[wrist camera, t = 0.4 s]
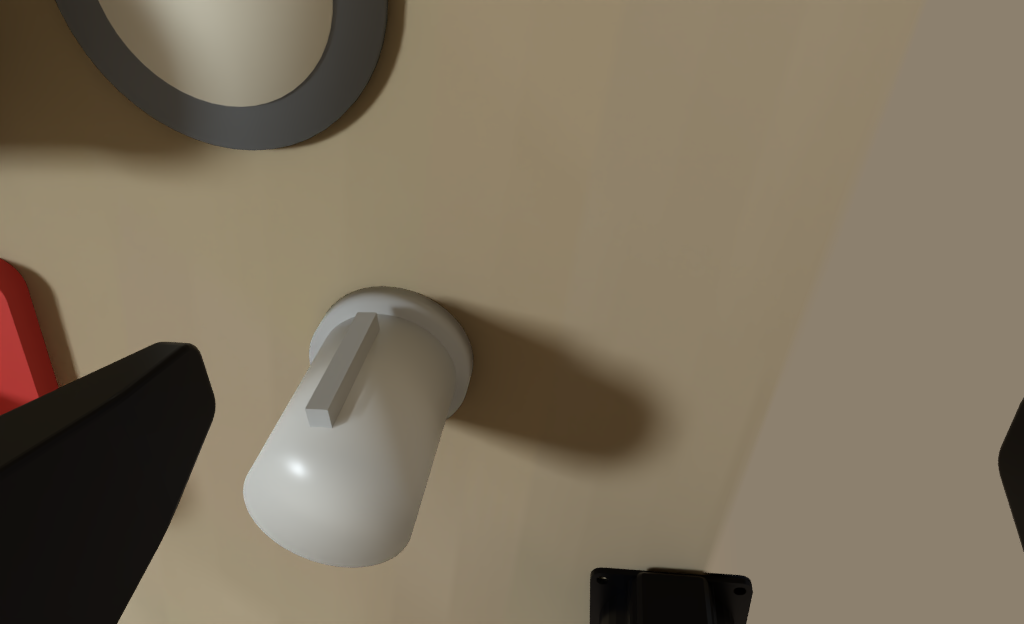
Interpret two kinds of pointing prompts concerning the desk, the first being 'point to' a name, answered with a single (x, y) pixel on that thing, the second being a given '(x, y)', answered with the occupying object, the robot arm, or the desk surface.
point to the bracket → (20, 345)
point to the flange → (234, 62)
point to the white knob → (361, 429)
